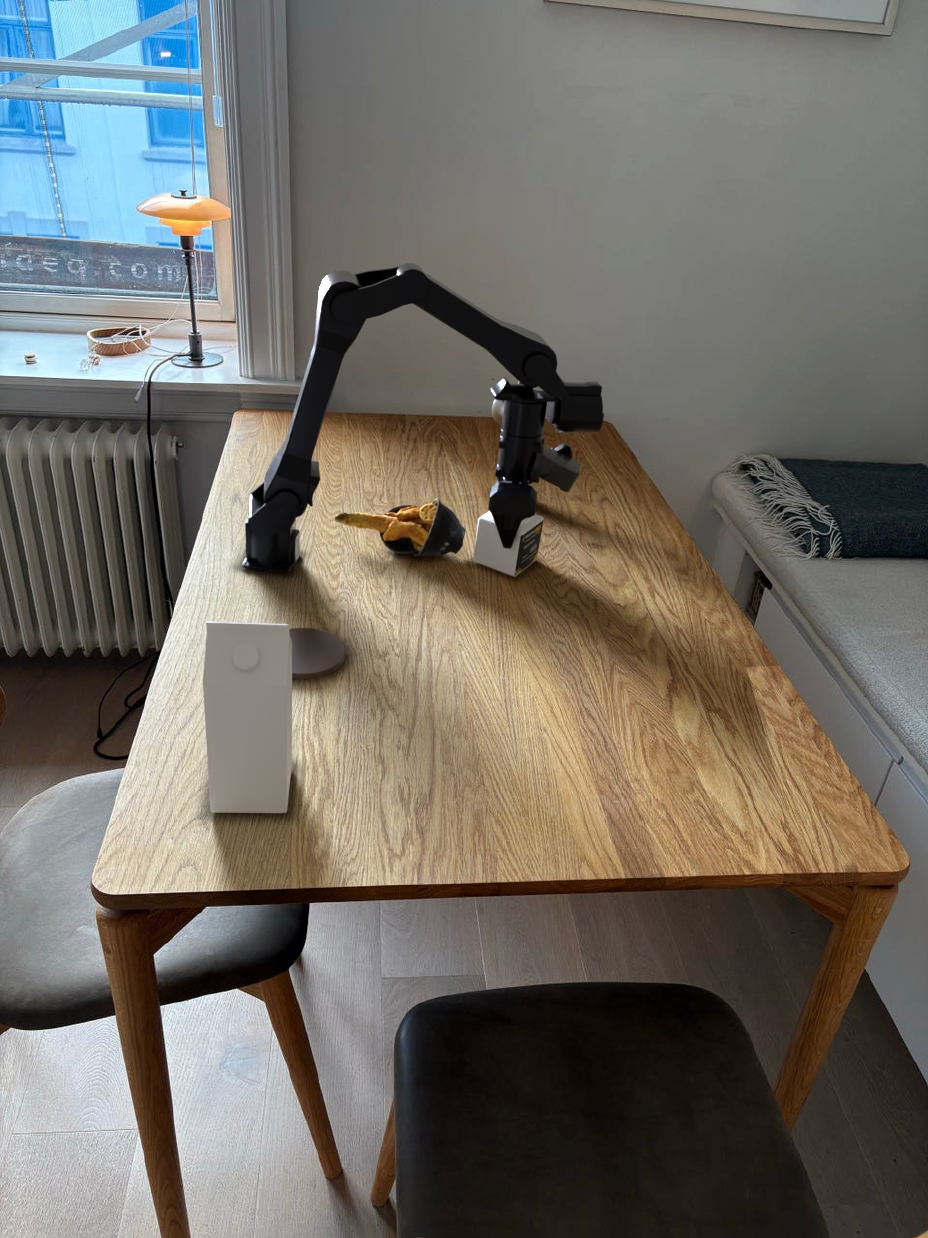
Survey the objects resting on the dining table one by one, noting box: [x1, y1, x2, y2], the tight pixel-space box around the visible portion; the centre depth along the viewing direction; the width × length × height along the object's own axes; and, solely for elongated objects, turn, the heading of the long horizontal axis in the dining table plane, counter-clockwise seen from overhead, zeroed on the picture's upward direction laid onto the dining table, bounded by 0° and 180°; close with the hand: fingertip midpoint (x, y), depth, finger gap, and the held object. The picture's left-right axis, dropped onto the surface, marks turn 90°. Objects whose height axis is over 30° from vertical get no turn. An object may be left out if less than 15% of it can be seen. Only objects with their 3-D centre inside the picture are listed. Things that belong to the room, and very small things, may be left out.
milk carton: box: [202, 620, 293, 814], centre depth 88 cm, size 7×7×19 cm
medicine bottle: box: [472, 481, 545, 578], centre depth 136 cm, size 7×7×12 cm
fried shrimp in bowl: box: [334, 498, 467, 558], centre depth 136 cm, size 9×11×18 cm
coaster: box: [289, 627, 346, 680], centre depth 113 cm, size 10×10×1 cm
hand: (509, 533), depth 137 cm, fingers closed on medicine bottle, 9 cm apart
